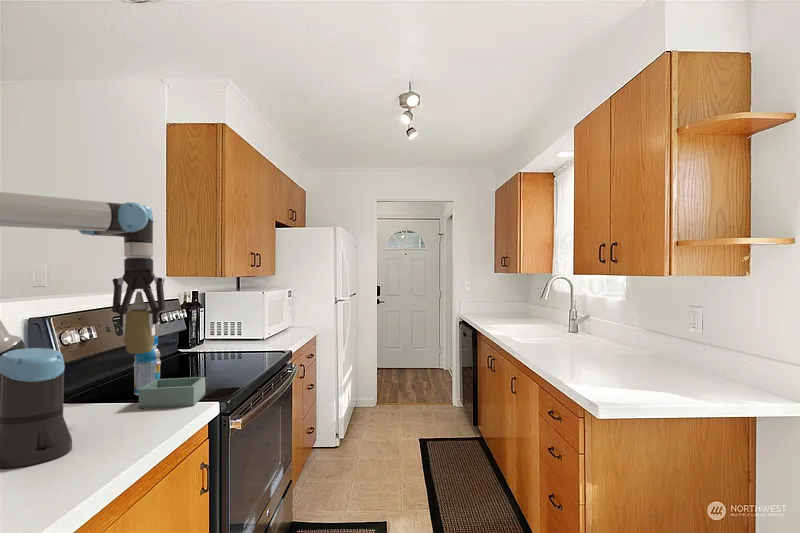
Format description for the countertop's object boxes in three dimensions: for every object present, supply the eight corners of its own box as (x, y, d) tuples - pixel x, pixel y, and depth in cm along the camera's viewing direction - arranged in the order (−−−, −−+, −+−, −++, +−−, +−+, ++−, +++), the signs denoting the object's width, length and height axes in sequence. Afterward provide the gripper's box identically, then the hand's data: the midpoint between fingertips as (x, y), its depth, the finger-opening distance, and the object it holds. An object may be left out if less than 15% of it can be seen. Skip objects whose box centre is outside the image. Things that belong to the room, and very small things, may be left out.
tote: (193, 405, 149) (193, 386, 150) (138, 409, 147) (138, 389, 147) (205, 394, 165) (205, 377, 165) (155, 397, 162) (155, 379, 163)
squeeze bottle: (145, 354, 136) (144, 291, 137) (117, 355, 136) (117, 292, 137) (160, 350, 144) (159, 291, 145) (133, 350, 144) (133, 291, 145)
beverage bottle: (140, 397, 162) (140, 338, 163) (129, 394, 168) (129, 337, 168) (165, 392, 169) (165, 336, 170) (153, 389, 174) (153, 334, 175)
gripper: (177, 258, 146) (177, 333, 146) (108, 258, 143) (109, 335, 143) (169, 256, 139) (170, 335, 138) (97, 257, 136) (97, 338, 135)
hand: (139, 335), depth 140 cm, fingers closed on squeeze bottle, 6 cm apart
